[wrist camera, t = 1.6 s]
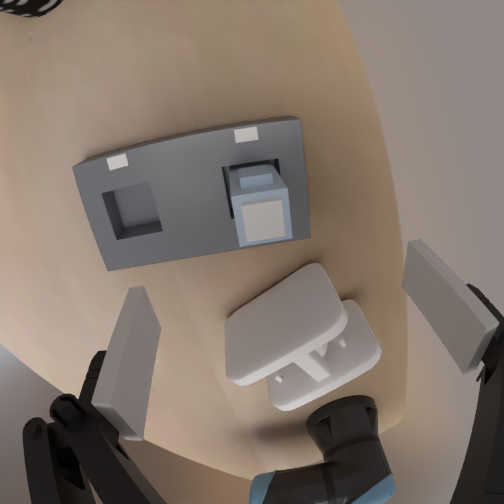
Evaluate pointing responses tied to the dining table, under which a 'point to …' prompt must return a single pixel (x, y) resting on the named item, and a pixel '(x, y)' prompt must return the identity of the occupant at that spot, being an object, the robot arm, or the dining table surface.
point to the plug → (259, 203)
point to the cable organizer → (299, 340)
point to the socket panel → (186, 191)
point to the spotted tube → (28, 7)
